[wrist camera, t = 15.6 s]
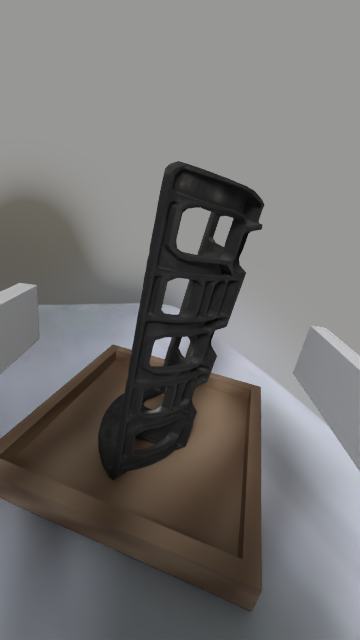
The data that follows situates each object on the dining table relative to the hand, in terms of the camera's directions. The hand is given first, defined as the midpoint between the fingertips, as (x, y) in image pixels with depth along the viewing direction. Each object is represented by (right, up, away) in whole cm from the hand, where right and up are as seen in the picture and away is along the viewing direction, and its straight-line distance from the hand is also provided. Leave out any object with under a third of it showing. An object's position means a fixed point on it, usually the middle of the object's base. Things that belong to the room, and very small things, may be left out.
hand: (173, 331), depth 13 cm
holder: (-2, -9, +11) cm, 14 cm away
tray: (-2, -9, +11) cm, 15 cm away
